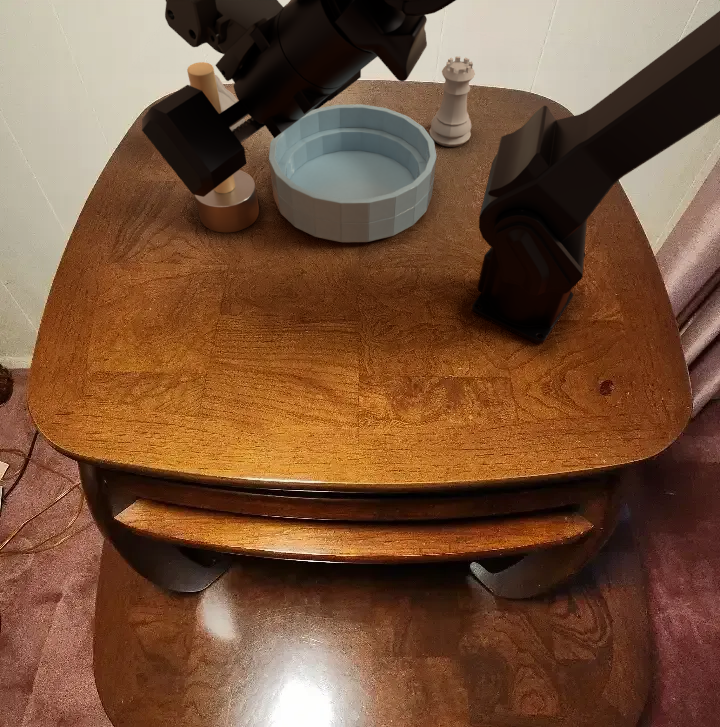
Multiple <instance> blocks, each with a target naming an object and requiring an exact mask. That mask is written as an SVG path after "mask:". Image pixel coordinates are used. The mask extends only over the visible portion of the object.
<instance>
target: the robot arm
mask: <svg viewBox="0 0 720 727" xmlns="http://www.w3.org/2000/svg"><path fill="white" fill-rule="evenodd" d="M456 1H457V0H289V1H288V2H287V3H286V4H285V5H284V6H283V4H281V3H280V1H279V0H165V11H164V18H165V21H166V23H167V25H168V26H169V28H170V29H171V30H172V31H173V32H175V33H176V34H177V35H178V36H179V37H180V38H181V39H182V40H184V41H185V42H186V43H187V44H188V45H189V46H190V47H192V48H198V47H200V46H202V45H204V44H207V45H209V46H210V47H211V48H212V49H213V50H214V51H216V52H218V53H220V54H222V56H221V58H219V60H218V61H217V62H216V64H215V65H214V66H215V67H216V69H217V70H218V71H219V73H220V74H221V75H222V77H223V78H224V79H225V81H227V82H230V81H231V80H232V81H233V83H234V84H233V91H234V94H235V97H236V99H237V100H238V102H236V103H235V104H233V105H232V106H230V107H229V108H227V109H226V110H224V111H223V112H221V113H220V114H219V113H218V112H217V110H216V109H215V108H214V106H213V105H212V103H211V102H210V101H209V99H208V98H207V97H206V95H205V94H204V93H203V91H202V90H199V89H197V88H194V87H192V86H190V84H186V85H185V86H183V87H181V88H180V89H178V90H177V91H175V92H173V93H171V94H170V95H168V96H167V97H165V98H163V99H162V100H160V101H159V102H157V103H155V104H154V105H152V106H151V107H150V108H149V109H148V111H147V112H146V113H145V114H144V116H143V117H142V119H141V131H142V132H143V134H144V135H145V136H146V137H147V139H148V140H149V141H150V143H151V144H152V145H153V147H154V148H155V149H156V150H157V151H158V153H159V154H160V155H161V156H162V158H163V159H164V161H166V163H167V164H168V165H169V167H170V168H171V169H172V170H173V171H174V173H175V174H176V175H177V177H178V178H179V179H180V181H182V183H183V184H184V186H185V187H186V189H188V190H189V192H190V193H191V194H192V195H193V196H194V195H197V196H202V197H204V196H206V195H207V194H208V193H209V192H211V191H212V190H213V189H215V188H216V187H217V186H219V185H220V184H221V183H223V182H224V181H225V180H227V179H228V178H229V177H231V176H232V175H233V174H234V173H236V172H237V171H238V170H241V169H242V168H244V166H246V165H247V164H248V163H247V156H246V149H245V147H244V144H243V142H245V141H246V140H247V139H249V138H250V137H252V136H253V135H255V134H256V133H257V132H259V131H260V130H261V129H262V128H264V127H265V128H266V129H267V130H268V132H269V133H270V134H271V137H272V138H276V137H277V136H278V135H280V134H281V133H282V132H284V131H285V130H286V129H288V128H289V127H290V126H292V125H293V124H294V123H295V122H297V121H298V120H299V119H301V118H302V117H303V116H305V115H306V114H307V113H309V112H310V111H311V110H314V109H318V108H322V107H323V106H324V105H325V104H326V103H328V102H331V101H332V100H334V99H335V98H336V97H337V96H339V95H340V94H342V92H344V91H345V90H346V89H348V88H350V87H351V86H352V85H354V84H355V83H356V82H357V81H358V80H359V79H361V77H362V70H363V69H364V68H365V67H366V66H368V65H370V63H371V62H372V61H374V60H375V59H377V58H378V59H379V60H380V61H381V62H382V63H383V65H384V66H385V67H386V68H387V69H388V70H389V71H390V73H391V74H392V75H393V76H394V77H395V78H396V79H397V80H398V81H399V82H405V81H407V79H408V78H409V76H410V75H411V73H412V72H413V70H414V68H415V67H416V65H417V64H418V61H419V60H420V58H421V57H422V55H423V53H424V52H425V51H426V48H427V46H428V42H427V32H426V30H425V28H426V23H427V22H428V19H427V16H426V15H431V14H435V13H437V12H439V11H441V10H443V9H445V8H447V7H448V6H450V5H452V4H453V3H454V2H456ZM247 116H249V118H247V119H246V120H245V122H244V123H242V124H241V125H240V126H238V127H236V129H233V130H232V131H231V129H230V127H232V126H233V125H234V124H236V123H237V122H239V121H240V120H242V119H243V118H244V119H245V118H246V117H247ZM719 116H720V10H718V11H717V12H716V13H715V14H713V15H712V16H711V17H709V18H708V19H706V21H704V22H703V23H701V24H700V25H699V26H698V27H696V28H695V29H694V30H692V31H690V33H688V34H687V35H686V36H684V37H683V38H682V39H681V40H679V41H678V42H676V43H675V44H674V45H672V46H671V47H669V49H667V50H666V51H664V52H663V53H662V54H661V55H660V56H658V57H657V58H656V59H654V60H652V62H650V63H649V64H647V65H646V66H644V67H643V68H642V69H641V70H639V71H638V72H637V73H635V74H634V75H633V76H632V77H630V78H629V79H628V80H626V81H625V82H624V83H622V84H621V85H620V86H618V87H617V88H616V89H614V90H613V91H612V92H610V93H609V94H608V95H607V96H605V97H604V98H603V99H601V100H600V101H599V102H597V103H596V104H594V105H593V106H592V107H590V108H589V109H588V110H586V111H584V112H582V113H579V114H576V115H572V116H568V117H563V118H559V119H556V118H555V116H554V114H553V113H552V112H551V110H550V109H549V106H547V105H543V106H541V107H540V108H539V109H537V110H536V111H535V112H534V113H533V115H532V116H531V117H530V118H529V119H528V120H527V121H526V122H525V123H524V124H523V125H522V126H521V127H519V128H518V129H517V130H515V131H513V132H511V133H508V134H505V135H503V136H501V137H500V140H499V144H498V148H497V153H496V154H495V156H494V158H493V160H492V161H491V166H490V170H489V174H488V178H487V183H486V187H485V191H484V195H483V200H482V203H481V208H480V212H479V216H478V229H479V232H480V234H481V237H482V239H483V240H484V241H485V242H486V243H487V245H488V246H489V247H490V248H489V249H488V250H487V251H486V252H485V254H484V256H483V260H482V265H481V269H480V270H481V271H480V274H479V278H478V282H477V287H476V289H477V292H478V293H480V294H479V296H478V297H477V298H476V299H475V301H474V302H473V303H472V305H471V312H472V313H473V314H474V315H476V316H479V317H481V318H483V319H485V320H487V321H489V322H491V323H493V324H495V325H497V326H500V327H502V328H503V329H506V330H507V331H510V332H512V333H514V334H516V335H519V336H520V337H522V338H524V339H526V340H529V341H531V342H533V343H535V344H537V345H542V344H544V343H545V342H546V340H547V339H548V337H549V336H550V334H551V332H552V331H553V329H554V328H555V326H556V325H557V323H558V322H559V320H560V318H562V316H563V314H564V312H565V311H566V310H567V308H568V306H569V305H570V303H571V302H572V300H573V297H574V293H573V291H572V290H573V288H574V287H575V286H576V285H577V284H578V283H579V282H580V281H582V279H583V277H584V266H585V265H584V263H585V257H586V236H587V223H588V219H589V218H590V216H591V215H592V214H593V213H594V211H595V210H596V209H597V207H598V206H599V205H600V204H601V202H602V201H603V200H604V199H605V197H606V196H607V194H608V193H609V192H610V190H611V189H612V188H613V186H614V185H615V184H616V183H618V181H619V180H621V179H622V178H623V177H625V176H626V175H628V174H630V173H631V172H633V171H634V170H635V169H637V168H639V167H640V166H642V165H643V164H646V163H647V162H649V161H650V160H652V159H653V158H654V157H656V156H658V155H660V154H661V153H662V152H664V151H665V150H667V149H669V148H670V147H672V146H673V145H675V144H676V143H678V142H680V141H681V140H683V139H685V138H686V137H687V136H689V135H691V134H692V133H694V132H696V131H697V130H699V129H701V128H702V127H703V126H705V125H707V124H708V123H710V122H711V121H713V120H714V119H716V118H717V117H719Z"/></svg>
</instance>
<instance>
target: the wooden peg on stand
mask: <svg viewBox="0 0 720 727" xmlns="http://www.w3.org/2000/svg"><path fill="white" fill-rule="evenodd" d="M214 68H215V67H214V66H213V64H211V63H210V62H204V61H203V62H202V61H201V62H195V63H192V64H190V65H189V66H188V67H187V69H186V70H187V76H188V80H189V81H188V82H189V85H191V86H192V87H194V88H197V89H199V90H202V91H203V93H204V94H205V95H206V97H207V98H208V99H209V101H210V102H211V103H212V105H213V106H214V108H215V109H216V110H217V112H218V113H219V114H220V113H221V112H222V111H221V106H220V100H219V95H218V90H217V84H216V79H215V75H216V74H215V69H214ZM193 197H194V201H195V205H196V208H197V211H198V212H197V213H198V216H199V220H200V222H201V224H202V225H203V226H204V227H206V228H207V229H208V230H210V231H214V232H216V233H217V232H218V233H223V234H224V233H227V234H228V233H235V232H240V231H243V230H245V229H247V228H249V227H250V226H251V225H253V224H254V223H255V222H256V220H257V219H258V217H259V215H260V207H259V200H258V194H257V187H256V182H255V179H254V178H253V177H252V175H250V174H249V173H247V172H245V171H243V170H241V169H240V170H238V171H237V172H236V173H234V174H233V175H232V176H231V177H229V178H228V179H227V180H225V181H224V182H223V183H221V184H220V185H219V186H217V187H216V188H215V189H213V190H212V191H211V192H209V193H208V194H207V195H206V196H204V197H202V196H197V195H193Z"/></svg>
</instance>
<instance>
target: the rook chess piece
mask: <svg viewBox="0 0 720 727" xmlns="http://www.w3.org/2000/svg"><path fill="white" fill-rule="evenodd" d="M473 63H474V62H473V61H470V58H468V57H464V58H463V61H461V56H454V58H452V57H450V58H448V59H447V61H446V65H444V67H443V68H442V70H441V74H442V77H443V78H444V80H445V81H444V82H443V84H442V86H441V87H442V90H443V93H442V99H441V102H440V106H439V109H438V110H437V111H436V113H435V115H433V117H432V120H431V121H430V128H429V135H430V137H431V138H432V139H433V141H434V143H435V144H436V143H437V144H438V145H440V146H442V147H449V148H452V147H453V148H454V147H455V148H457V147H459V146H462V145H463V144H465V143H466V142H467V141H468V140H470V138H471V135H472V132H471V130H472V121H471V118H470V115H469V112H468V94H469V92H470V91H471V85H470V82H471V80H472V79H473V78H475V75H476V72H475V69H474V68H473V65H474V64H473Z"/></svg>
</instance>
